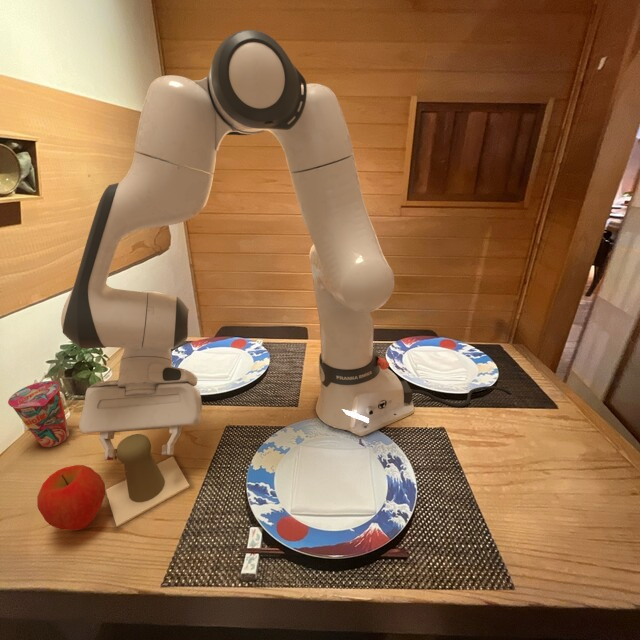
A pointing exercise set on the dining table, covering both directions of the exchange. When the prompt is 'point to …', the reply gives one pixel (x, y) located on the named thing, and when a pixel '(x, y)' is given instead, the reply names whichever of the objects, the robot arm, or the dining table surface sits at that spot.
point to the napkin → (129, 509)
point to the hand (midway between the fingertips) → (139, 457)
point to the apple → (71, 497)
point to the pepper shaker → (140, 468)
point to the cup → (42, 412)
